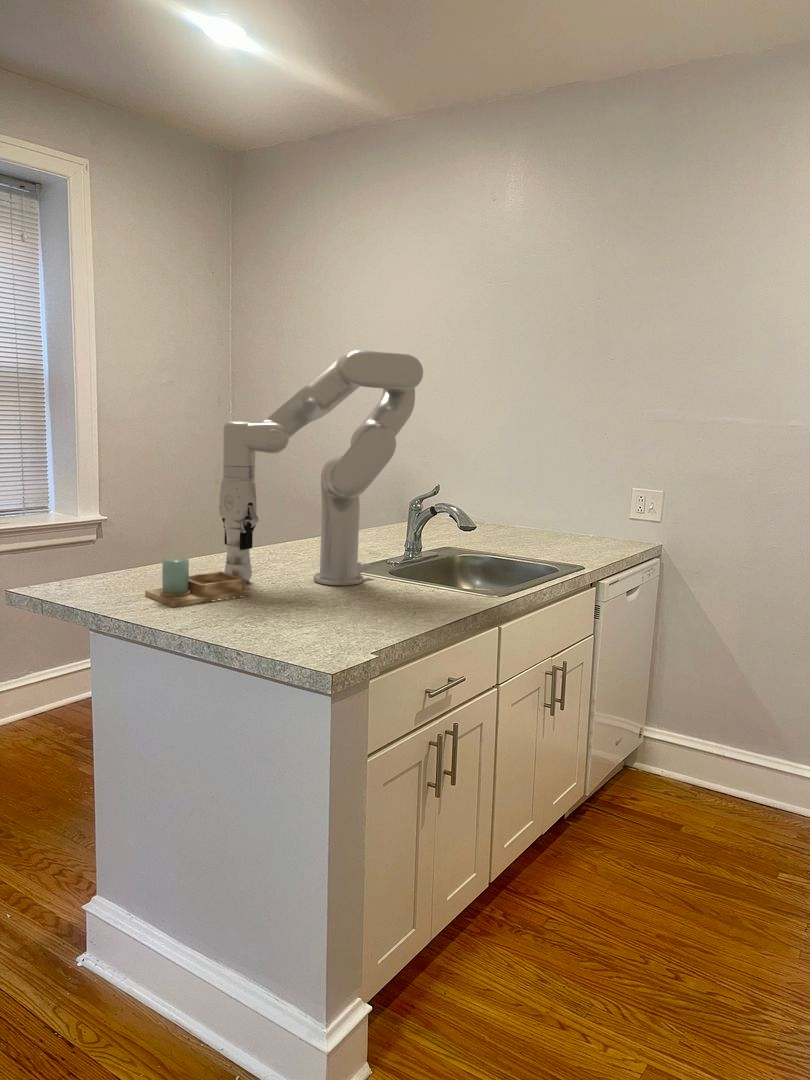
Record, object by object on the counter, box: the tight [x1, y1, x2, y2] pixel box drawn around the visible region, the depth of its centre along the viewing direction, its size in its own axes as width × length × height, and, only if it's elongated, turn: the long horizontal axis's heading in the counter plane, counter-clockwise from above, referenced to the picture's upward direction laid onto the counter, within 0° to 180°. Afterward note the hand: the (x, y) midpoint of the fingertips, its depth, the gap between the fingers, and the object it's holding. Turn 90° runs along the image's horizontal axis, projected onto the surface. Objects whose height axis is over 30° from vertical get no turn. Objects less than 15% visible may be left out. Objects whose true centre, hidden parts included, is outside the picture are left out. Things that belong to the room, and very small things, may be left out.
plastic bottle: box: [223, 518, 253, 583], centre depth 195 cm, size 6×7×20 cm
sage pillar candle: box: [161, 557, 190, 594], centre depth 177 cm, size 6×6×7 cm
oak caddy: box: [144, 570, 250, 608], centre depth 181 cm, size 19×13×4 cm
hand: (238, 545), depth 195 cm, fingers closed on plastic bottle, 6 cm apart
